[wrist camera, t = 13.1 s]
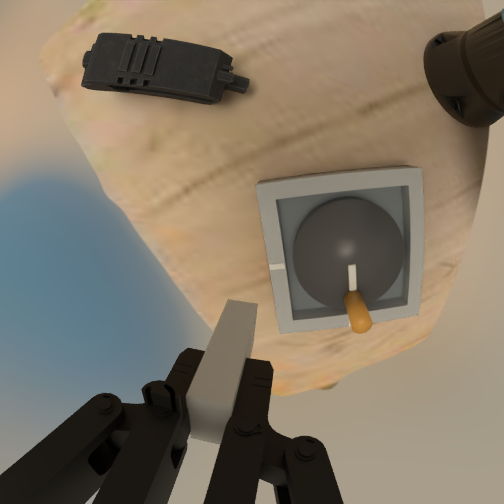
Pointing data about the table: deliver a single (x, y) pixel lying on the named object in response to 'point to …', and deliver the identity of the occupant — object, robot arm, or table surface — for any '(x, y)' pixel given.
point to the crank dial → (348, 256)
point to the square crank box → (312, 195)
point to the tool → (159, 68)
